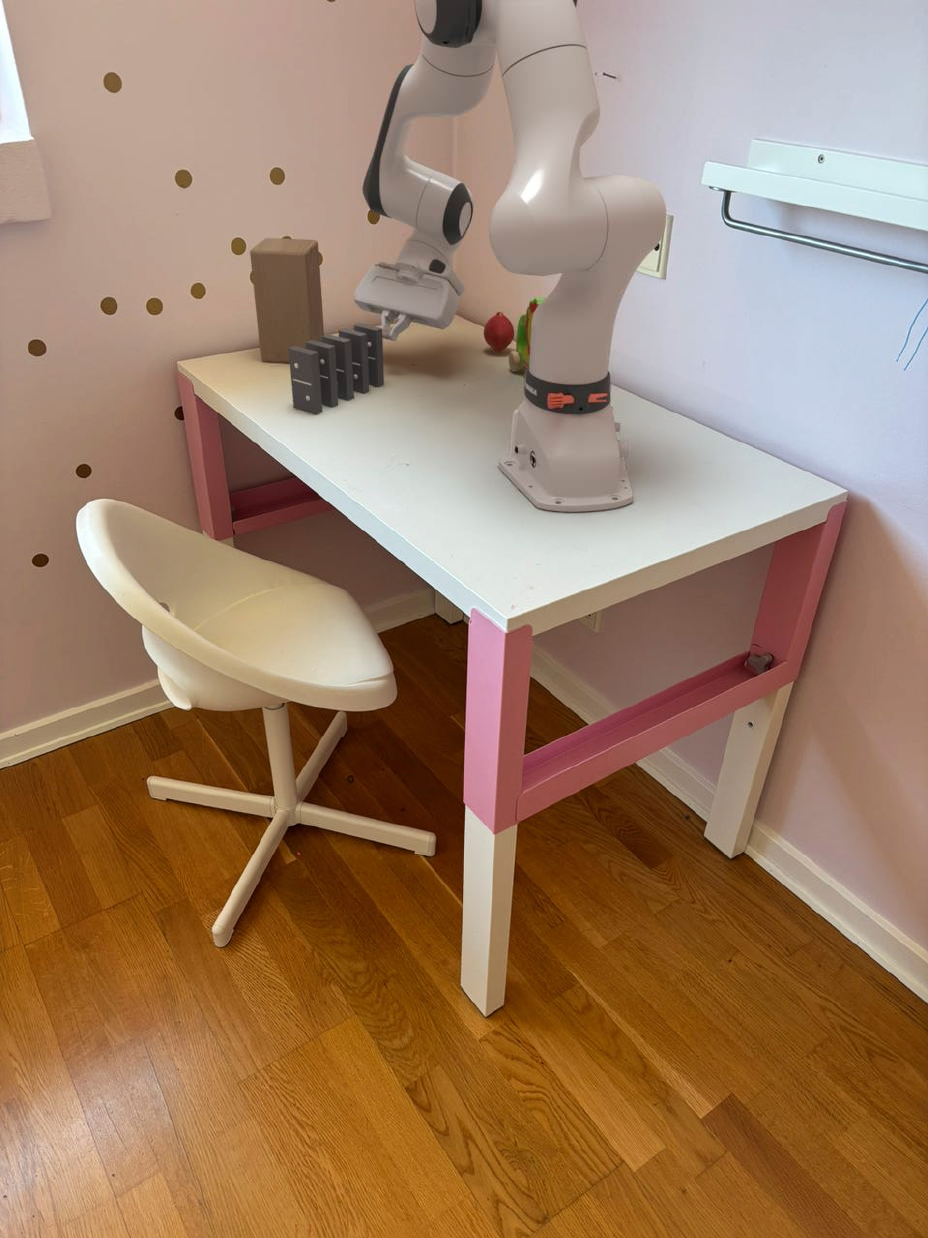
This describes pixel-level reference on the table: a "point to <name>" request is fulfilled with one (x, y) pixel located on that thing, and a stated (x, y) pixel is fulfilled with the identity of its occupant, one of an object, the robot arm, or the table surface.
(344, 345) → the domino
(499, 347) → the onion
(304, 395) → the domino
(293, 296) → the wooden block
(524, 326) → the toy lion
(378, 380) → the domino
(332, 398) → the domino
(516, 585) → the table surface
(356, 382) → the domino
